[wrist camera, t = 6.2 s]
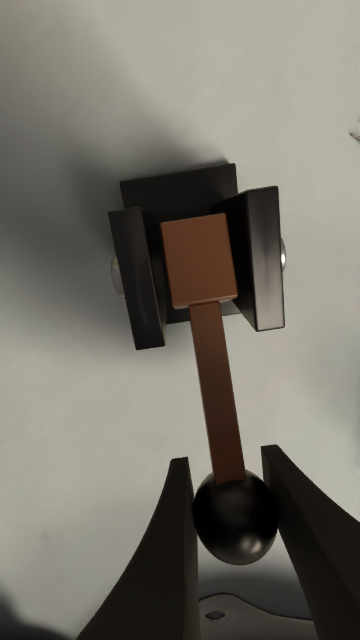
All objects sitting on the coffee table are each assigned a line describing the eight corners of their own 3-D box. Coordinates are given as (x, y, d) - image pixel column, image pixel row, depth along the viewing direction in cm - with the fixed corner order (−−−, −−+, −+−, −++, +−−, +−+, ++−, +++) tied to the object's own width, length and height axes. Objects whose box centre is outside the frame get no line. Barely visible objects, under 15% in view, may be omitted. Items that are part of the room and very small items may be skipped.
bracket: (244, 308, 19) (302, 374, 11) (148, 322, 19) (131, 400, 11) (231, 166, 17) (294, 110, 8) (121, 183, 17) (74, 145, 8)
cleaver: (159, 666, 29) (175, 595, 26) (159, 660, 29) (175, 589, 26) (425, 682, 31) (470, 617, 28) (422, 676, 31) (465, 612, 28)
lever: (270, 521, 13) (297, 583, 10) (197, 531, 13) (201, 596, 10) (226, 233, 13) (239, 206, 10) (155, 244, 13) (145, 221, 10)
